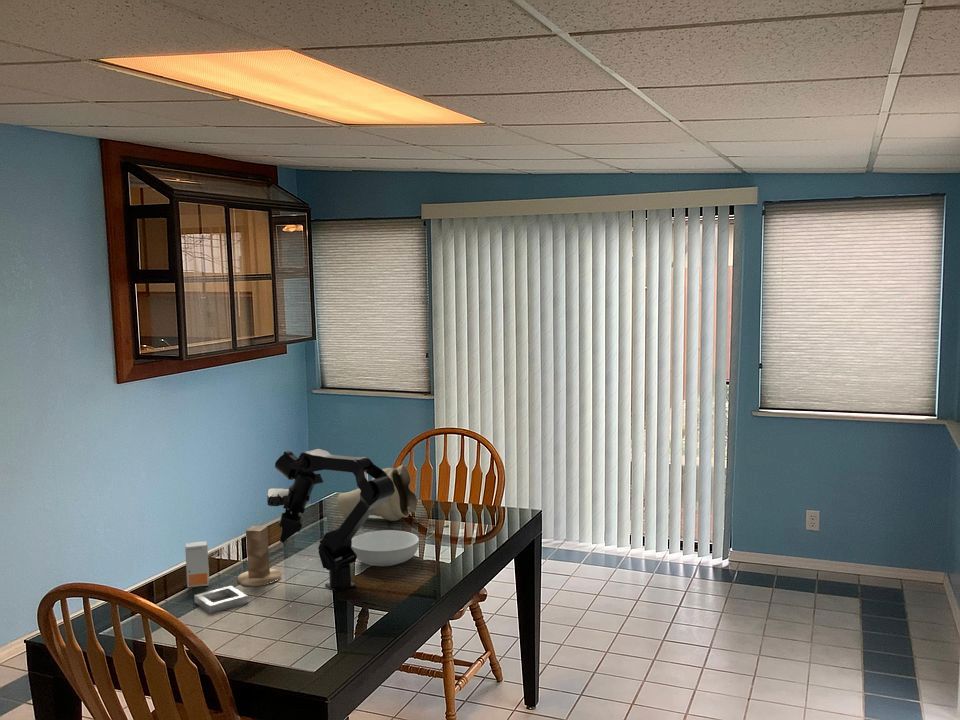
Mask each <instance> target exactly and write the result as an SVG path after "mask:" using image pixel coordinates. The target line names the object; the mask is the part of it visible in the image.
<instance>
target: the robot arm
mask: <svg viewBox="0 0 960 720" xmlns="http://www.w3.org/2000/svg"><path fill="white" fill-rule="evenodd" d="M274 468H275V469H276V470H277V471H278V472H279V473H281V474H282V475H283V476H284V477H285V478H286V479H288V480H289V481H291V480H294V481H293V483H292V484H291V485H290V486H289V488H277V487H276V488H274V487H273V488H268V491H267V498H266V499H267V506H269V507H280V506H283V507H282V508H283V509H285V510H284V511H285V512H282V513H281V515H280V518H279V522H278V526H279V527H280V528H281V534H280V539H279V542H280V543H285V542H286V541H287V540H289V538H291V537H292V536H293V535H295V534H296V533H300V532H301V529H302V528H303V522H304V519H303V517H302V516H301V515H299V514H304V513H305V509H306V506H307V503H308V502H309V501H310V499H311V494H312V492H313V489H314V487H315V486H316V485H317V484H323V483H324V480H323V477H322V475H321V473H316V472H318V471H324V470H325V471H335V472H343V473H351V474H353V475H354V477H355V481H356V486H357V488H359V489H360V490H361V492H360V501H359V502H358V503H357V505H356V506H355V507H354V509H353V510H352V511H351V513H350V514H349V515H348V517H347V518H346V519H345V518H344V521H343V522H342V523H341V525H340V526H339V527H338V528H335V529H333V530H330V531H328V532H325V534H324V535H323V537H322V539H321V540H319V541H318V543H319V545H318V548H317V549H318V555H319V557H320V562H321V565H322V568H323V569H326V571H328V572H329V582H328V583H327V582H326V583H325V584H324V585H325V587H327V588H328V589H330V590H332V591H335V592H341V591H343V590H346V589H351V588H354V587H356V586H357V585H356V583H354V582H353V581H352V576H351V574H352V573H351V564H353V563H356V561H357V560H358V559H357V555H356V553H355V552H354V551H353V549H352V548H351V546H352V538H354V537H355V535H356V534H357V532H358V531H359V530H360V529H361V527H362V526H363V525H364V523H366V521H367V519H369V517H370V516H371V515H370V514H371V513H372V512H373V510H374V509H375V508H376V507H377V506H378V505H380V504H382V503H383V502H385V501H386V500H387V499H389V498H390V497H391V496H392V495H393V494H394V492H395V489H394V484H393V482H392V480H391V479H390V478H389V477H388V475H387V474H386V473H385V472H384V471H383V470H382V469H383V468H382V469H381V468H380V467H379V466H378V465H376V464H375V463H374V462H373V461H372V460H371V459H370V458H369V457H366V456H362V457H360V456H350V455H339V454H331V453H330V452H329V451H328V450H324V449H322V448H316V449H311V450H307V451H303V452H301V453H300V454H299V456H296V454H294V452H293V451H291V450H290V449H289V450H285V451H283V454H282V455H280V456H279V458H278V459H277V460H276V461H275V463H274ZM365 474H367V475H369V476H370V477H372V478H375V479H374V480H372V479H371V481H370V480H368V479H367V478H366V476H365ZM355 585H356V586H355ZM353 586H354V587H353Z"/></svg>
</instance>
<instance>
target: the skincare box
mask: <svg viewBox="0 0 960 720" xmlns="http://www.w3.org/2000/svg"><path fill="white" fill-rule="evenodd" d="M208 547H209V546H208V541H207V540H205V541H195V542H186V543H185V548H184V549H185V567H186V569H185V570H186V586H187V587H186V588H188V589H189V588H195V587H204V586H205V587H206V586H207V587H209V586H210V568H209V551H208Z"/></svg>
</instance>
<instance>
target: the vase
mask: <svg viewBox="0 0 960 720" xmlns="http://www.w3.org/2000/svg"><path fill="white" fill-rule="evenodd" d="M382 470H383V471H384V472H385V473H386V474H387V475H388V477H389V478H390V479H391V480H392V482H393V484H394V489H395V492H394V494H393V495H392V496H391V497H390V498H389V499H387V500H386V501H385V502H383V503H382V504H380V505H378V506H377V507H376V508H375V509H374V510H373V512H372V513H371V514H370V516H377V517H381V518H382V519H385V520H387V521H391V522H393V521H394V522H396V521H399V520H400V519H402V518H408V517H409V515H410V513H413V514H414V513H416V512H417V509H418V498H417V494H416V493H415V492H414V491H413V490H412V489H411V483H412V479H411V478H412V477H411V475H410V472H409V471H408V468H407V467H406V466H405V465H404V464H401V465H399V466H398V467H396V468H392V467H385V468H382ZM374 479H375V478H373V477H372V479H371V480H374ZM371 480H369V481H371ZM360 492H361V490H360V489H359V487H357V488H355V489H353V490H351V491H348V492H347V491H346V492H342V493H339V494H338V496H337V507H338V511H339V513H340V515H341V516H342V518H343V519H344V520H345V519H346V518H347V517H348V515H349V514H350V513H351V511H352V510H353V509H354V507H355V506H356V505H357V503H358V502H359V501H360Z"/></svg>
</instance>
